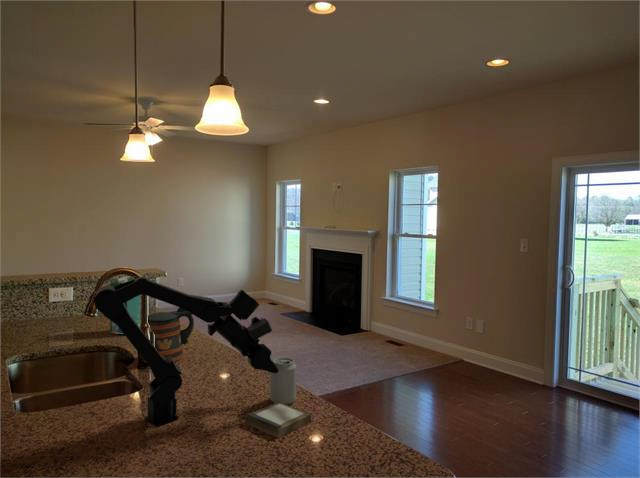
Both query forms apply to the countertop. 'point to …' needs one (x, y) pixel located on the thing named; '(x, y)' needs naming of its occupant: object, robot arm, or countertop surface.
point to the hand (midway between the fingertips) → (272, 367)
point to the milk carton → (127, 305)
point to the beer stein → (170, 332)
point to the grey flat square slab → (278, 419)
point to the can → (283, 381)
